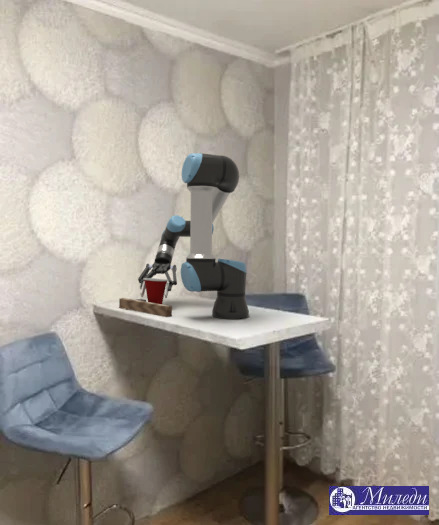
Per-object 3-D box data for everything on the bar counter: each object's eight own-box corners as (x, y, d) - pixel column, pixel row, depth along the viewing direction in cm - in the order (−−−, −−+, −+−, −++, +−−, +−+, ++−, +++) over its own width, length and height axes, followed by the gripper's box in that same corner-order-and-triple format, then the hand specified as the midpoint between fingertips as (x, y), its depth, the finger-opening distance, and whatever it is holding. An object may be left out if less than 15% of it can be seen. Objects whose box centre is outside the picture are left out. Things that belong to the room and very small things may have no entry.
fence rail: (185, 313, 197) (185, 303, 197) (166, 317, 188) (166, 306, 188) (138, 305, 215) (138, 295, 215) (119, 307, 207) (119, 298, 206)
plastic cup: (173, 305, 206) (173, 278, 206) (153, 308, 199) (153, 280, 198) (157, 302, 214) (157, 276, 213) (138, 305, 206) (138, 277, 205)
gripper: (189, 263, 218) (180, 302, 204) (142, 261, 222) (130, 299, 208) (187, 252, 213) (177, 291, 198) (138, 250, 216) (126, 289, 202)
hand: (153, 295), depth 203 cm, fingers closed on plastic cup, 10 cm apart
